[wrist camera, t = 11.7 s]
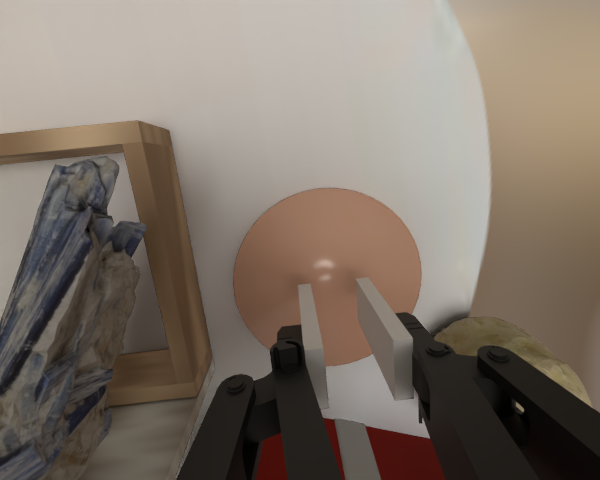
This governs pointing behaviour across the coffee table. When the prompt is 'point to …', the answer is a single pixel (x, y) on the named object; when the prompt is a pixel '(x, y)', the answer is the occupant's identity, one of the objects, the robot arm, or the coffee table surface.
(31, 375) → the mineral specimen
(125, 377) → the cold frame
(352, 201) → the peach round smooth part
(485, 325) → the decorative object
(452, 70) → the coffee table surface
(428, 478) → the red striped box
